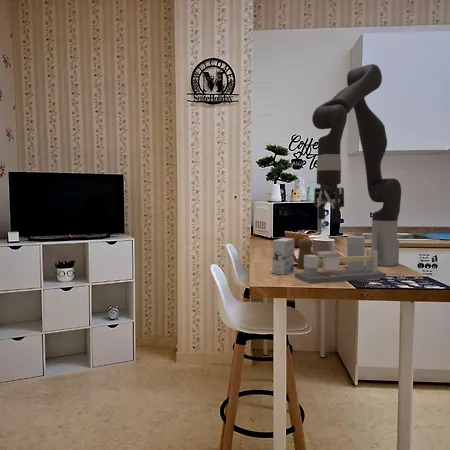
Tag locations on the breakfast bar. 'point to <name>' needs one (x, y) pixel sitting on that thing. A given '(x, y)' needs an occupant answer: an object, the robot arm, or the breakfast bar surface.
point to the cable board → (316, 276)
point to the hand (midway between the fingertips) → (328, 220)
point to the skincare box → (355, 251)
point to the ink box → (283, 256)
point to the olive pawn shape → (303, 251)
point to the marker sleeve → (328, 259)
